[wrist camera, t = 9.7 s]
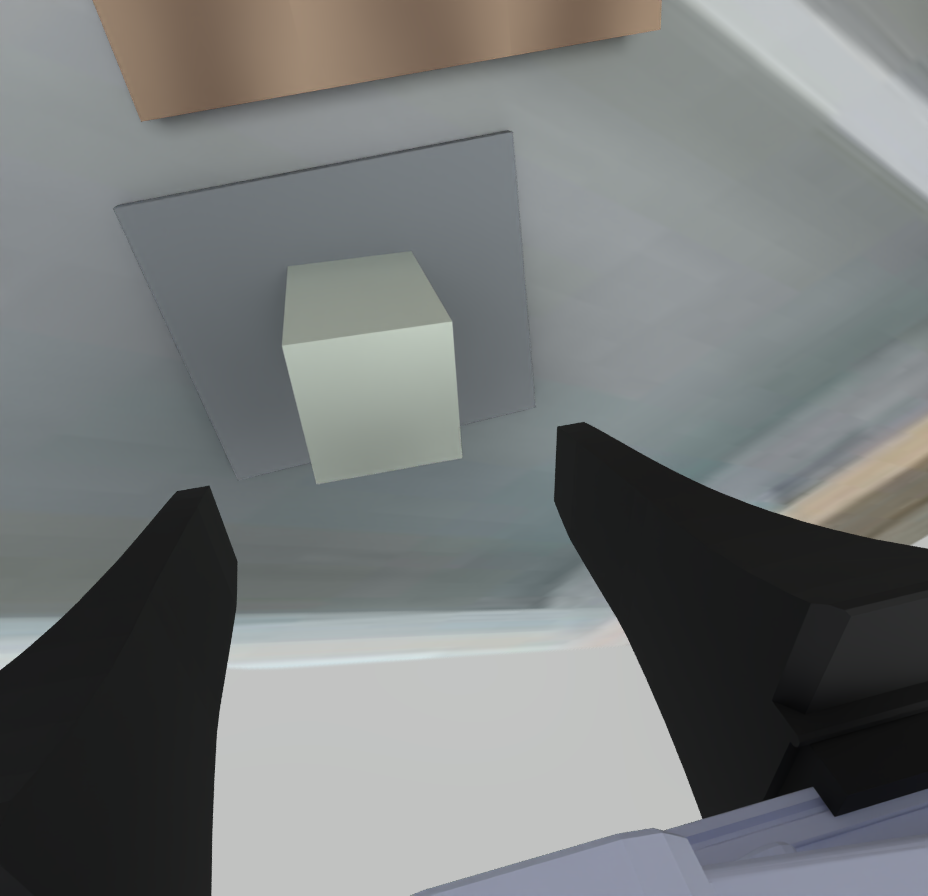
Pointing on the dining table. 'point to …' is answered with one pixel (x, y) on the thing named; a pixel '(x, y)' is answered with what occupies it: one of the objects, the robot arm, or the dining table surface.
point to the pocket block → (332, 42)
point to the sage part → (370, 366)
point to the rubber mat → (328, 239)
